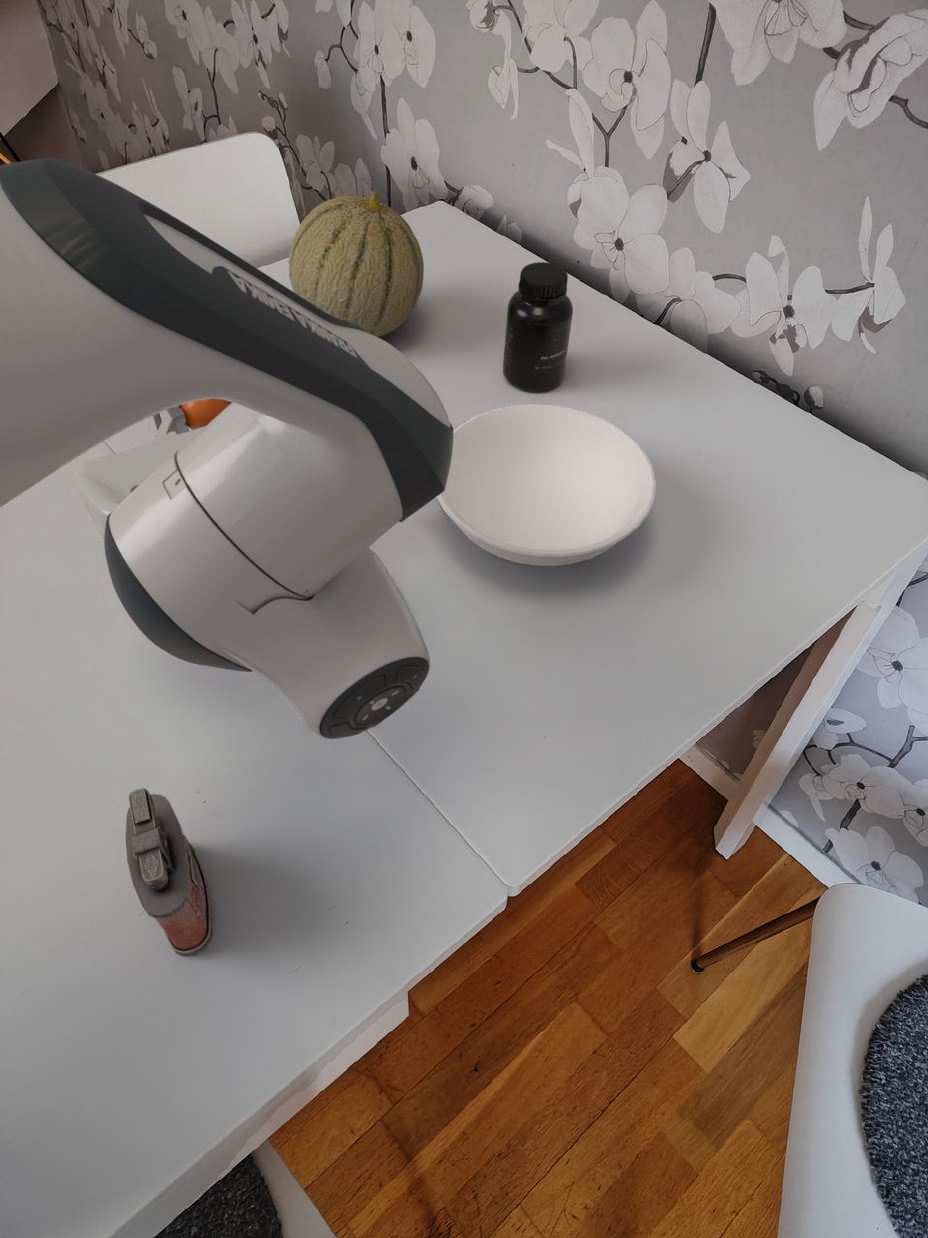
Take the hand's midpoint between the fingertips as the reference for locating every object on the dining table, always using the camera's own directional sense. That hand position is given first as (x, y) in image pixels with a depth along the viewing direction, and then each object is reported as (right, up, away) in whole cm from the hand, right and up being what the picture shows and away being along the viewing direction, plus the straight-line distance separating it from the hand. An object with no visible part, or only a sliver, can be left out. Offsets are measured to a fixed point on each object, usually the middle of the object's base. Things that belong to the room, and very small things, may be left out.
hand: (202, 402), depth 63 cm
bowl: (+26, -7, +19) cm, 33 cm away
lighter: (0, -35, -4) cm, 35 cm away
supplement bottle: (+27, +11, +33) cm, 44 cm away
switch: (-1, -1, +5) cm, 5 cm away
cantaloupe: (+7, +18, +38) cm, 43 cm away
